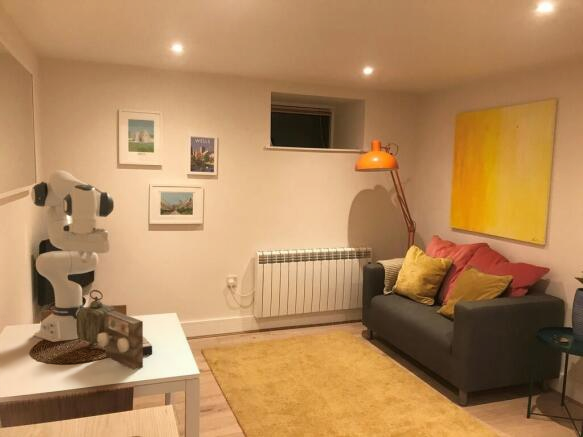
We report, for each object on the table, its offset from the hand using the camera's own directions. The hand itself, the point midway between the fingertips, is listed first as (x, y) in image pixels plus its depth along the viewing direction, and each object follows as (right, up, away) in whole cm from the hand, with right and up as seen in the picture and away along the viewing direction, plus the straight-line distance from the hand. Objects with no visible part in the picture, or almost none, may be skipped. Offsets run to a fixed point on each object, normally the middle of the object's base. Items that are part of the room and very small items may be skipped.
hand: (85, 262), depth 186 cm
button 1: (+7, -33, +4) cm, 34 cm away
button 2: (+17, -33, -1) cm, 38 cm away
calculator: (+14, -39, +16) cm, 44 cm away
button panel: (+13, -39, +4) cm, 42 cm away
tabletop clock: (-3, -38, +17) cm, 41 cm away
